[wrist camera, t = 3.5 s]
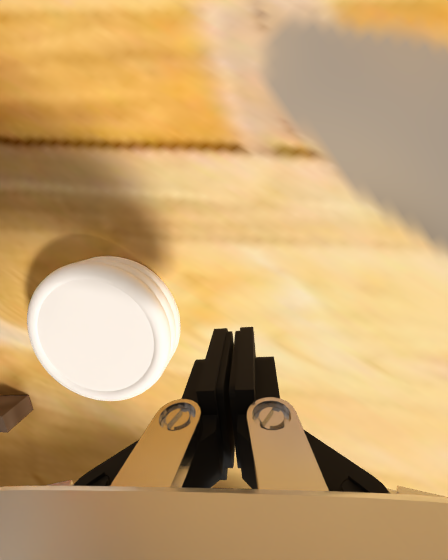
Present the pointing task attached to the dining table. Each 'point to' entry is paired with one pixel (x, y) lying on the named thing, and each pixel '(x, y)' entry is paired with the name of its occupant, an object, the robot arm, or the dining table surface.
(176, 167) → the dining table surface
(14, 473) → the dining table surface
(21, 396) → the bay
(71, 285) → the white plate stack
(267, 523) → the robot arm
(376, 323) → the dining table surface
